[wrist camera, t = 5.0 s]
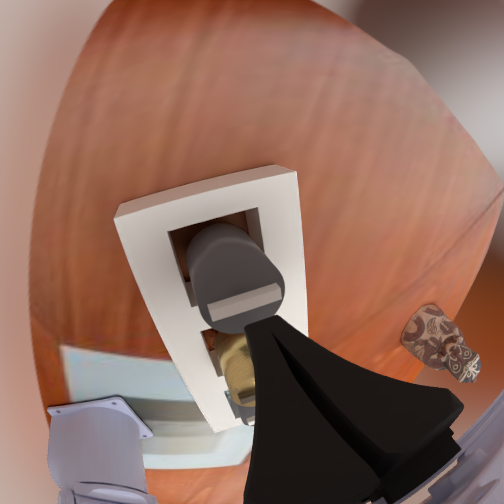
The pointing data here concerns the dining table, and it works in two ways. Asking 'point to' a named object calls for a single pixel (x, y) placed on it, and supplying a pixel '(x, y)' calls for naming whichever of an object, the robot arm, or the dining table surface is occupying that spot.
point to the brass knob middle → (236, 367)
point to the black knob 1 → (232, 278)
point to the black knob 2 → (246, 414)
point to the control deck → (182, 294)
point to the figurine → (440, 344)
